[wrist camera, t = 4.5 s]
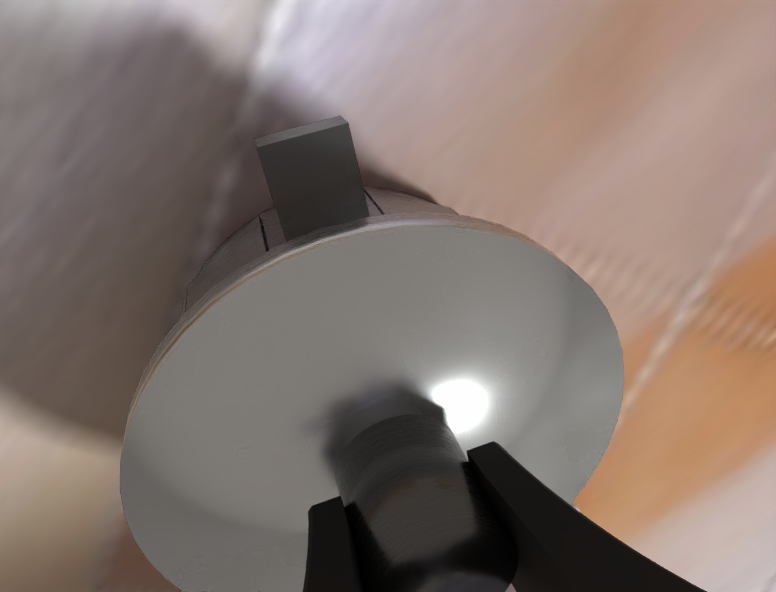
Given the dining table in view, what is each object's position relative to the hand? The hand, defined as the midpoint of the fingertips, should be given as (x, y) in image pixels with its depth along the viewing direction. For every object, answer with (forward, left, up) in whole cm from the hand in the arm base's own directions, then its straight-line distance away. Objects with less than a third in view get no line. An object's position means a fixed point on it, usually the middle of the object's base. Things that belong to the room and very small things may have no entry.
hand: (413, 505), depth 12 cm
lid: (0, 0, -3) cm, 3 cm away
